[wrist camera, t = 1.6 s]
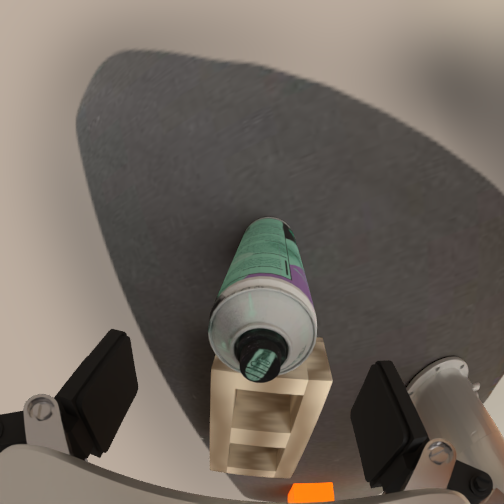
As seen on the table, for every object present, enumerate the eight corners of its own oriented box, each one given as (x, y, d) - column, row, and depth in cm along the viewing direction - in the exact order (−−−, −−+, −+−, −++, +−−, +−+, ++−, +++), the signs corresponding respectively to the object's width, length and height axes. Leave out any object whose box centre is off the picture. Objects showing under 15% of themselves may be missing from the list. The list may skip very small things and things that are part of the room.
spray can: (244, 267, 31) (204, 409, 12) (241, 217, 30) (183, 312, 10) (295, 266, 31) (320, 409, 12) (294, 215, 29) (331, 309, 10)
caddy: (322, 337, 33) (332, 381, 25) (289, 440, 40) (290, 478, 32) (224, 326, 33) (211, 368, 26) (217, 432, 40) (209, 470, 32)
